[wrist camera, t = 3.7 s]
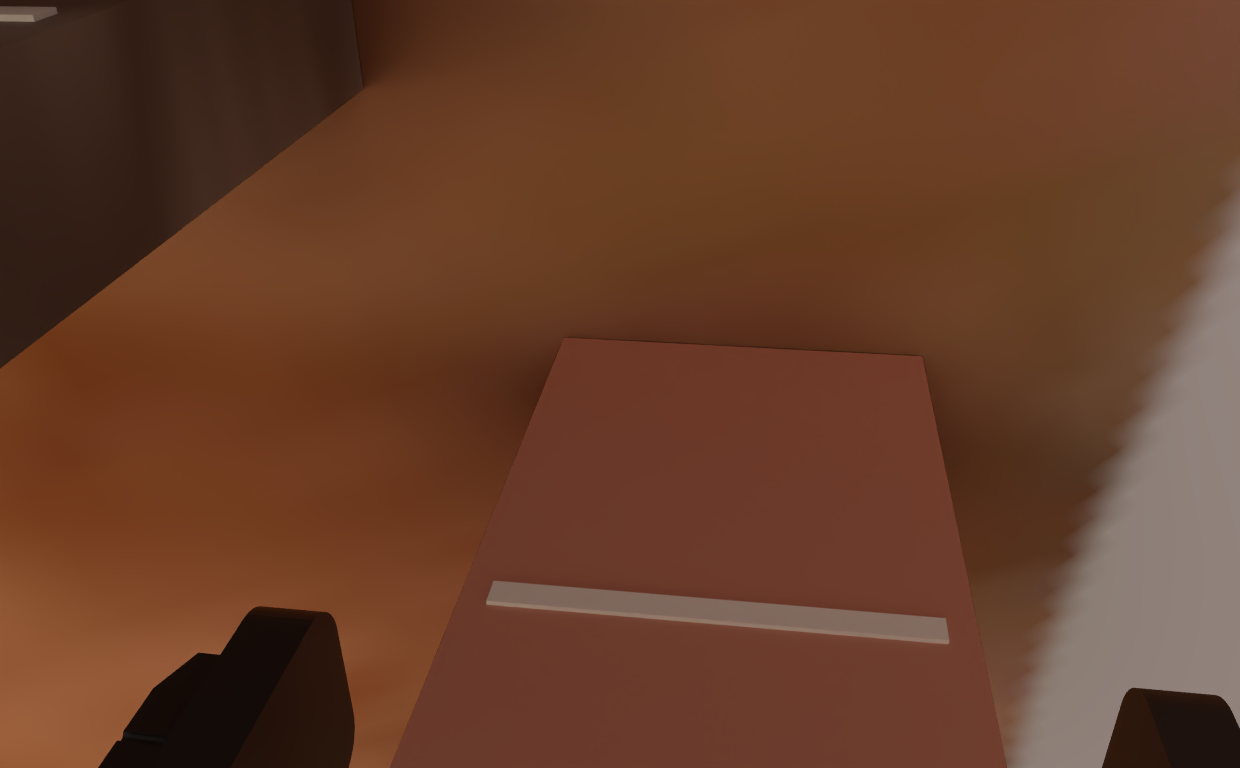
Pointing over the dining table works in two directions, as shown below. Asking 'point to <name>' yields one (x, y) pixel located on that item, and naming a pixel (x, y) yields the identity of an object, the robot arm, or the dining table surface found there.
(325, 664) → the robot arm
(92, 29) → the tile
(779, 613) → the end tile
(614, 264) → the dining table surface
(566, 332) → the dining table surface
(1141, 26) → the dining table surface
